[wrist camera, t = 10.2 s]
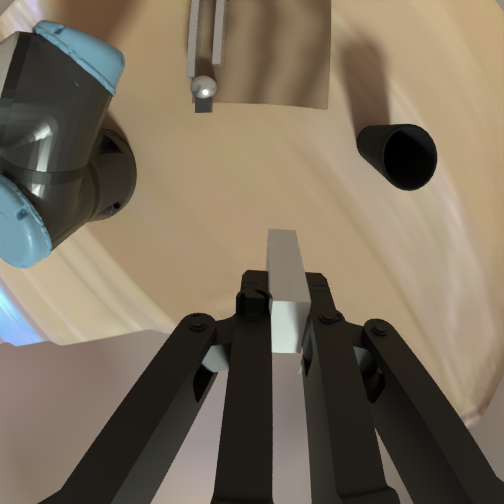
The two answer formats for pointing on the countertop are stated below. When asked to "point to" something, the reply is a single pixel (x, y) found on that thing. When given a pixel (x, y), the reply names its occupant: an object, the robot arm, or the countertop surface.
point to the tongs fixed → (201, 85)
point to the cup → (399, 153)
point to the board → (271, 52)
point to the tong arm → (219, 33)
